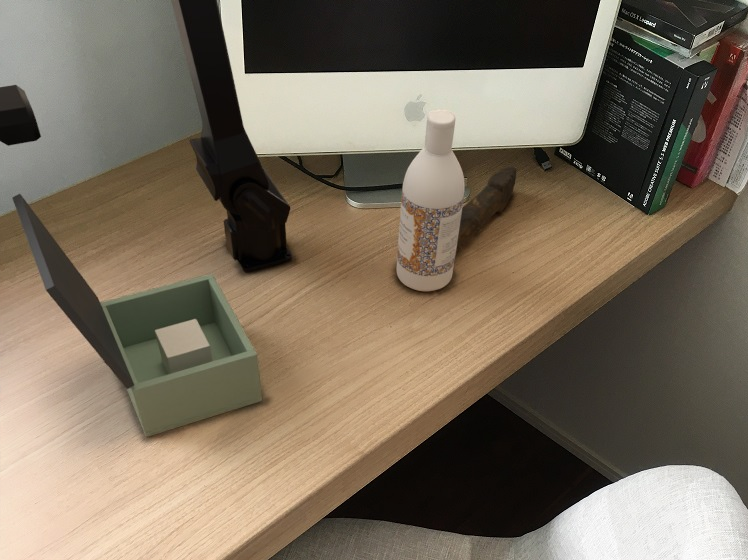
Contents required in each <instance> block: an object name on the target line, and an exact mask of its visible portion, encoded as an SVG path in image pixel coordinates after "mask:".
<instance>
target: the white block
mask: <svg viewBox="0 0 748 560" xmlns="http://www.w3.org/2000/svg"><path fill="white" fill-rule="evenodd" d="M155 334H156V338H157V342H158V346H159V350H160V354H161V358H162V362H163V364H164V366H165V368H166V371H167V373H168V374H171V373H175V372H178V371H182V370H185V369H189V368H192V367H195V366H199V365H202V364H206V363H209V362H213V360H212V355H211V349H210V345H209V343H208V341H207V339H206V337H205V335H204V333H203V331H202V329H201V327H200V325H199V324H198V322H197V320H196V319H193V320H190V321H186V322H182V323H179V324H175V325H172V326H168V327H164V328H161V329H157V330H155Z"/></svg>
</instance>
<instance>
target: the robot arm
mask: <svg viewBox="0 0 748 560" xmlns="http://www.w3.org/2000/svg"><path fill="white" fill-rule="evenodd" d="M170 2H171V5H172V9H173V13H174V17H175V21H176V24H177V29H178V31H179V36H180V40H181V44H182V48H183V51H184V56H185V61H186V63H187V67H188V71H189V75H190V79H191V83H192V87H193V91H194V95H195V98H196V103H197V106H198V111H199V114H200V115H199V116H200V119H201V125H202V127H201V132H200V137H197V138H195V137H194V138H190V139H189V140H188V141H189V144H190V146H191V148H192V150H193V152H194V155H195V158H196V166H195V170H196V172H197V174H198V175H199V177H200V178H201V181H202V182H203V183H204V185H205V187H206V188H207V190H208V192H209V193H210V195H211V196H212V198H213V200H214V201H215V202H217V201H219V202H220V203H221V205H222V207H223V208H224V209H225V211H226V216H227V217H226V218H225V219H224V220H223V228H224V235H225V242H226V243H225V244H226V249H227V250H228V252H229V254H230V256H231V257H232V259H233V260H234V261H236V262H237V263H238V266H239V267H240V270H242V272H245V273H247V272H248V273H249V272H251V271H255V270H259V269H263V268H267V267H271V266H274V265H278V264H281V263H286V262H290V261H292V260H293V254H292V253H291V251H290V249H289V248H288V245H287V229H286V227H287V226H286V223H287V221H288V218H289V215H290V212H291V205H289V203H288V202H287V200H286V198H285V197H284V195H283V194H282V192H281V191H280V190H279V188H278V187H277V185H276V184H275V183H274V181H273V179H272V178H271V176H270V175H269V174H268V172H267V171H266V169H265V168H264V167H263V166H262V163H261V161H260V159H259V156H258V154H257V152H256V150H255V148H254V146H253V144H252V142H251V139H250V138H249V136H248V134H247V131H246V129H245V126H244V122H243V117H242V112H241V108H240V102H239V97H238V93H237V89H236V83H235V79H234V74H233V70H232V65H231V64H232V63H231V60H230V56H229V50H228V46H227V41H226V36H225V31H224V27H223V23H222V18H221V13H220V8H219V4H218V3H219V2H218V0H170ZM35 115H36V114H35V113H34V110H33V107H32V105H31V103H30V101H29V98H28V96H27V94H26V91H25V90H24V89H22V87H20V86H18V85H17V84H11V85H5V86H0V142H1V143H2V144H4V145H6V146H8V147H10V146H15V145H20V144H26V143H27V144H28V143H32V142H37V141H38V140H39V139H40V138H42V135H41V132H40V127H39V125H38V121H37V118H36V116H35Z"/></svg>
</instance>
